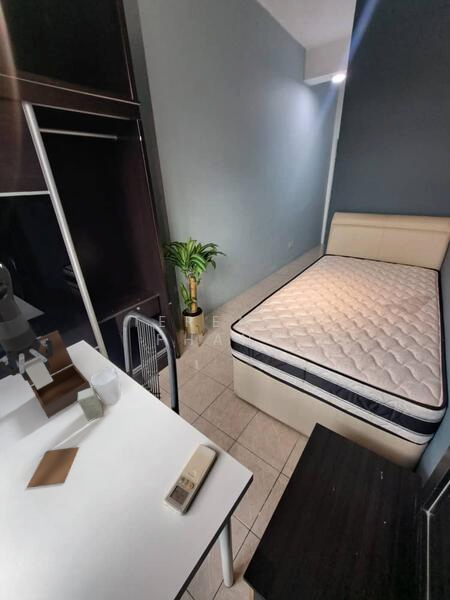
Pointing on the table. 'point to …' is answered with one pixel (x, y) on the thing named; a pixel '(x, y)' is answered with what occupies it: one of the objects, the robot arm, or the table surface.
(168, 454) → the table surface
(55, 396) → the chest
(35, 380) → the light grey block
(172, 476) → the table surface
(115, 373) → the cup
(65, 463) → the pad
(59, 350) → the lid
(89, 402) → the box
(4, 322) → the robot arm
